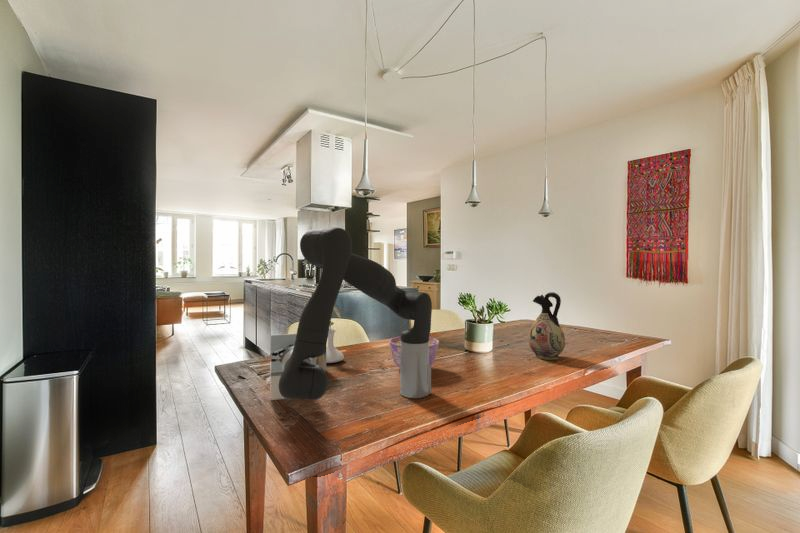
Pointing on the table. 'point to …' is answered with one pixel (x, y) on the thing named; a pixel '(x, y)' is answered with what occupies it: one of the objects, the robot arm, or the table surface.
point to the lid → (280, 347)
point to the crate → (275, 384)
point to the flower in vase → (331, 351)
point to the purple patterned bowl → (396, 349)
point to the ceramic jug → (547, 330)
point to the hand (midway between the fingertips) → (291, 348)
